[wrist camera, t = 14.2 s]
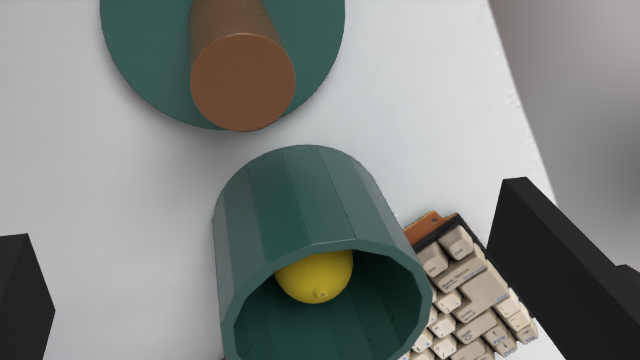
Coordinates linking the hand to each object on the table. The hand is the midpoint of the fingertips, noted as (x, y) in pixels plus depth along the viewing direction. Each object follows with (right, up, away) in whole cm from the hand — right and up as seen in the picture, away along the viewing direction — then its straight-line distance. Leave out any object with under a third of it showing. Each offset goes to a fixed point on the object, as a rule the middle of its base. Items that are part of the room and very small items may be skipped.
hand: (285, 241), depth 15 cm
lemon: (-1, -1, +24) cm, 24 cm away
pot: (-1, -1, +24) cm, 24 cm away
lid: (-4, +11, +15) cm, 19 cm away
